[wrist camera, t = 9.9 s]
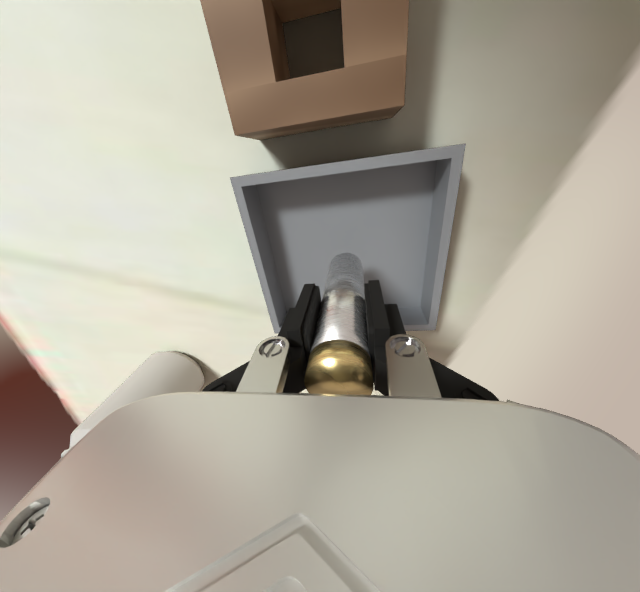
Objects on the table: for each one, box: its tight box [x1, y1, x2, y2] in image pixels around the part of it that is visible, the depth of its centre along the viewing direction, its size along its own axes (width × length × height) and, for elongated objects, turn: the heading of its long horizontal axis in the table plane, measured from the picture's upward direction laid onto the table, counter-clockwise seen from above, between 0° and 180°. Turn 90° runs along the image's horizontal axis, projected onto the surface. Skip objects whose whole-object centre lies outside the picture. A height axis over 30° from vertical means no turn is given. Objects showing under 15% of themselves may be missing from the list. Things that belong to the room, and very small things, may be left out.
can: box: [61, 351, 204, 457], centre depth 25 cm, size 8×8×12 cm
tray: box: [230, 144, 466, 333], centre depth 18 cm, size 13×14×3 cm
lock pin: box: [304, 253, 373, 395], centre depth 12 cm, size 2×2×10 cm
